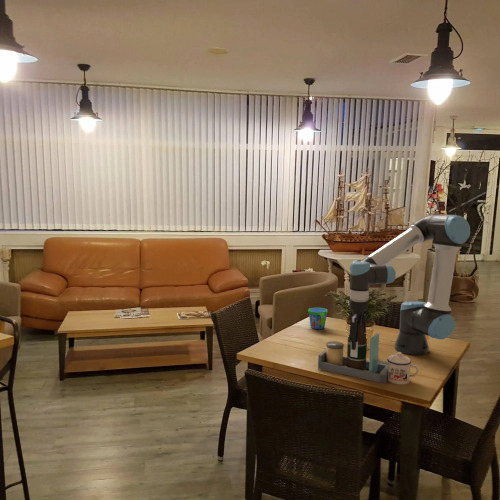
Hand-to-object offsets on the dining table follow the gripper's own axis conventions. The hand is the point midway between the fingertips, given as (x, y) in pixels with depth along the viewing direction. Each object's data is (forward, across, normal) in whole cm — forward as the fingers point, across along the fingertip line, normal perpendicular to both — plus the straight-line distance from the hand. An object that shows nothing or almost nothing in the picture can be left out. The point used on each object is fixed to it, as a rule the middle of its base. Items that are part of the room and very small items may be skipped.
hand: (357, 353), depth 192 cm
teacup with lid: (+8, 0, +18) cm, 20 cm away
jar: (+8, 0, -10) cm, 12 cm away
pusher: (+8, 0, +10) cm, 13 cm away
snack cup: (+8, -48, -38) cm, 61 cm away
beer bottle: (+6, 0, 0) cm, 6 cm away
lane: (+8, 0, -1) cm, 8 cm away
